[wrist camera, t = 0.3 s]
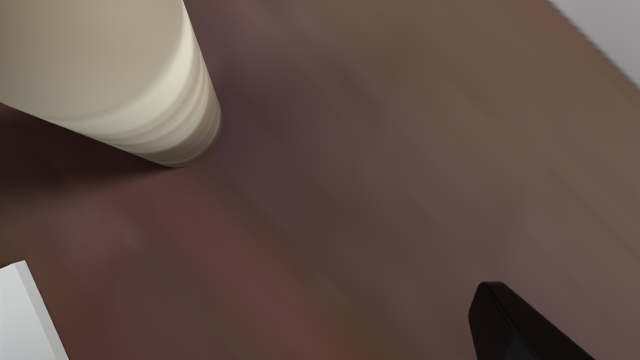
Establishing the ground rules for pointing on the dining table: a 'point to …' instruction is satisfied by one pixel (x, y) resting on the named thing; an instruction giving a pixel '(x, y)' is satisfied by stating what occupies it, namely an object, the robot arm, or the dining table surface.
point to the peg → (112, 74)
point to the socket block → (25, 319)
